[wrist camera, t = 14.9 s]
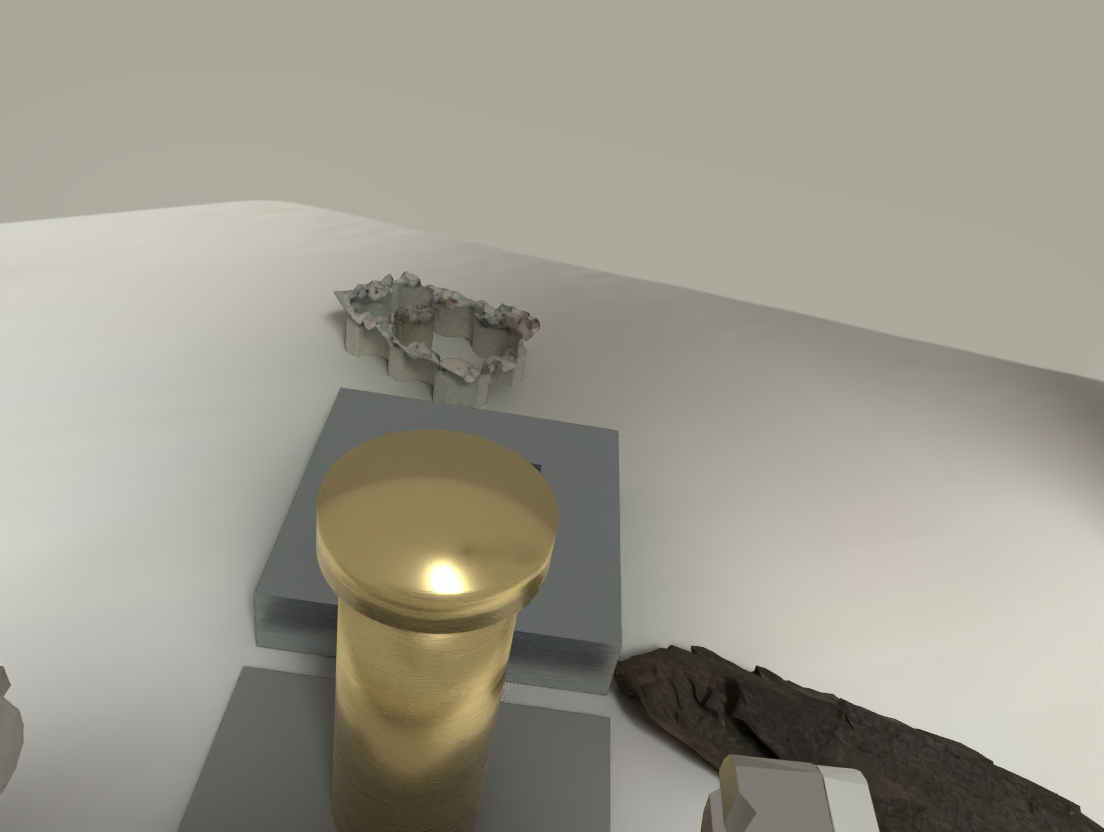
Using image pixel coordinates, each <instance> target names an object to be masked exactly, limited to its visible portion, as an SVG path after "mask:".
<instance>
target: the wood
mask: <svg viewBox="0 0 1104 832" xmlns="http://www.w3.org/2000/svg"><path fill="white" fill-rule="evenodd" d="M691 651H692V653H691V652H688V651H686V650H683V649H680V648H678V647H675V646H673V645H670V646H669V647H668V648H667V649H666V648H660V649H657V650H654V651H651V652H648V653H645V654H642V655H637V656H633V657H631V658H629V659H627V660H625V661H617V664H616V667H615V670H614V676H615V679H616V681H617V682H618V684H619V685H620V687H621V688H622V690H623V691H624V692H625V694H626V695H627V696H630V695H636V696H639V697H641V700H642V703H643V705H644V707H645V709H646V711H647V713H648V715H649V717H650V718H651V719H652V720H653V721H655V722H656V723H657V724H658V725H659V726H661V727H662V728H663V729H664V730H665V731H666V732H668V733H669V734H671V735H673V736H674V737H676V738H677V739H679V740H680V741H682V742H683V743H685V744H687V745H688V746H689V747H691V748H692V749H693V750H695V751H696V752H697V753H699V754H700V755H701V756H702V757H703V758H704V759H705V760H706V761H708V762H709V763H711V764H712V765H714V766H715V767H717V768H718V769H720V767H721V765H722V763H723V760H724V758H726V757H727V756H728V755H730V754H731V755H740V756H750V757H759V758H769V759H778V760H788V761H797V762H807V763H813V765H821V766H831V767H840V768H850V769H856V770H858V771H860V772H861V773H862V775H863V776H864V777H865V779H866V780H867V784H868V788H869V792H870V796H871V800H872V804H873V808H874V812H875V816H876V820H877V824H878V828H879V832H1104V828H1102V827H1101V826H1100V825H1098V824H1097V823H1095V822H1094V821H1092V820H1091V819H1090V818H1088V817H1087V816H1085V815H1084V814H1082V813H1081V810H1080V806H1079V805H1077V804H1075V803H1073V802H1071V801H1069V800H1067V799H1065V798H1063V797H1061V796H1059V795H1057V794H1055V793H1054V792H1052V791H1050V790H1048V789H1046V788H1044V787H1042V786H1040V785H1038V784H1036V783H1034V782H1032V781H1030V780H1028V779H1025V778H1023V777H1021V776H1019V775H1016V774H1014V773H1012V772H1010V771H1008V770H1005V769H1003V768H1001V767H998V766H996V765H994V764H993V761H991V760H989V759H988V758H986V757H985V756H983V755H982V754H980V753H979V752H977V751H975V750H973V749H971V748H969V747H967V746H965V745H963V744H962V743H959V742H956V741H953V740H950V739H947V738H944V737H941V736H938V735H935V734H932V733H929V732H926V731H923V730H920V729H914V728H912V727H910V726H908V725H906V724H904V723H902V722H900V721H898V720H896V719H893V718H889V717H885V716H882V715H879V714H877V713H874V712H872V711H870V710H867V709H865V708H863V707H860V706H857V705H854V704H852V703H850V702H848V701H846V700H844V699H842V698H840V699H839V698H838V697H836V696H835V695H834V694H829V693H821V692H818V691H815V690H812V689H810V688H803V687H801V686H799V685H797V684H795V683H793V682H791V681H789V680H788V681H785V680H783V679H782V678H781V677H779V676H778V675H776V674H774V673H773V672H771V671H769V670H768V669H766V668H763V667H760V666H756V667H755V671H753V672H749V671H747V670H744V669H742V668H741V667H739V666H737V665H736V664H734V663H732V662H730V661H728V660H726V659H724V658H722V657H720V656H719V655H717V654H716V653H714V652H712V651H710V650H708V649H706V648H704V647H699V646H691Z"/></svg>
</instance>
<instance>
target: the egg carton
mask: <svg viewBox="0 0 1104 832" xmlns="http://www.w3.org/2000/svg"><path fill="white" fill-rule="evenodd" d="M334 294H335V295H336V297H337V298H338V300H339V302H340V303H341V305H342V306H343V307H344V308H345V309H346V310H347V320H346V341H345V350H346V352H348V353H350V354H352V355H353V356H355V357H360V356H365V355H376V356H381V357H383V358H385V359H387V360H388V361H389V364H388V374H387V375H388V376H390V377H391V378H393V379H395V380H396V381H399V382H403V381H408V380H421V381H424V382H427V383H429V384H431V385H432V386H433V387H434V390H433V399H432V401H433V402H437V403H443V404H450V405H456V406H457V405H462V406H468V407H471V408H478V407H480V406H482V405H484V404H485V403H486V402H487V395H488V388H489V384H490V383H502V384H506V385H510V386H514V385H515V384H517V383H519V382H521V381H522V376H523V369H524V364H525V354H526V349H525V347H524V346H523V341H524V340H526V341H527V340H529V338H531V337H532V336H533V335H534V333H535V332H537V331H538V330H539V329H540V323H539V321H538V320H537V318H532V317H530V315H529V313H528V312H525V311H519V310H518V309H516V308H515V307H511V306H505V305H504V304H501V305H500V307H499V308H498V309H494V308H493V307H491V306H490V305H489V304H488V303H487V302H485V301H482V300H481V301H478V302H476V301H473V300H470V299H467V298H465V297H464V296H463V295H461V294H460V293H459V292H455V291H451V290H448V289H444V288H436V287H434V286H433V285H427V286H422V285H421V282H420V279H419V278H418V277H417V276H415V275H413V274H409V273H408V272H407V271H406V272H404V273H403V274H402V276H401V278H400V279H398V280H395V281H393V278H392V276H391V274H390V275H387V276H386V277H385V278H384V279H383V280H382V281H380V282H379V281H376V280H375V281H371V282H370V283H368V284H367V285H361V284H358V285H357V286H356V287H355V289H354V290H350V291H334ZM395 312H396V313H395ZM392 313H395V315H394V325H392V324H391V314H392ZM433 331H434V332H435V333H437V334H439V335H442V336H447V337H456V336H462V337H464V338H467V339H470V340H472V350H473V351H474V353H475V354H476V355H478V356H480V357H482V358H486V361H485V362H484V364H483V371H482V370H481V369H474V368H473V366H472V365H471V364H469V363H468V362H467V361H465V360H461V359H454V358H448V359H444V360H441V361H440V356H439V355H438V354H436V353H435V352H433V351H431V345H432V338H433Z"/></svg>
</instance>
